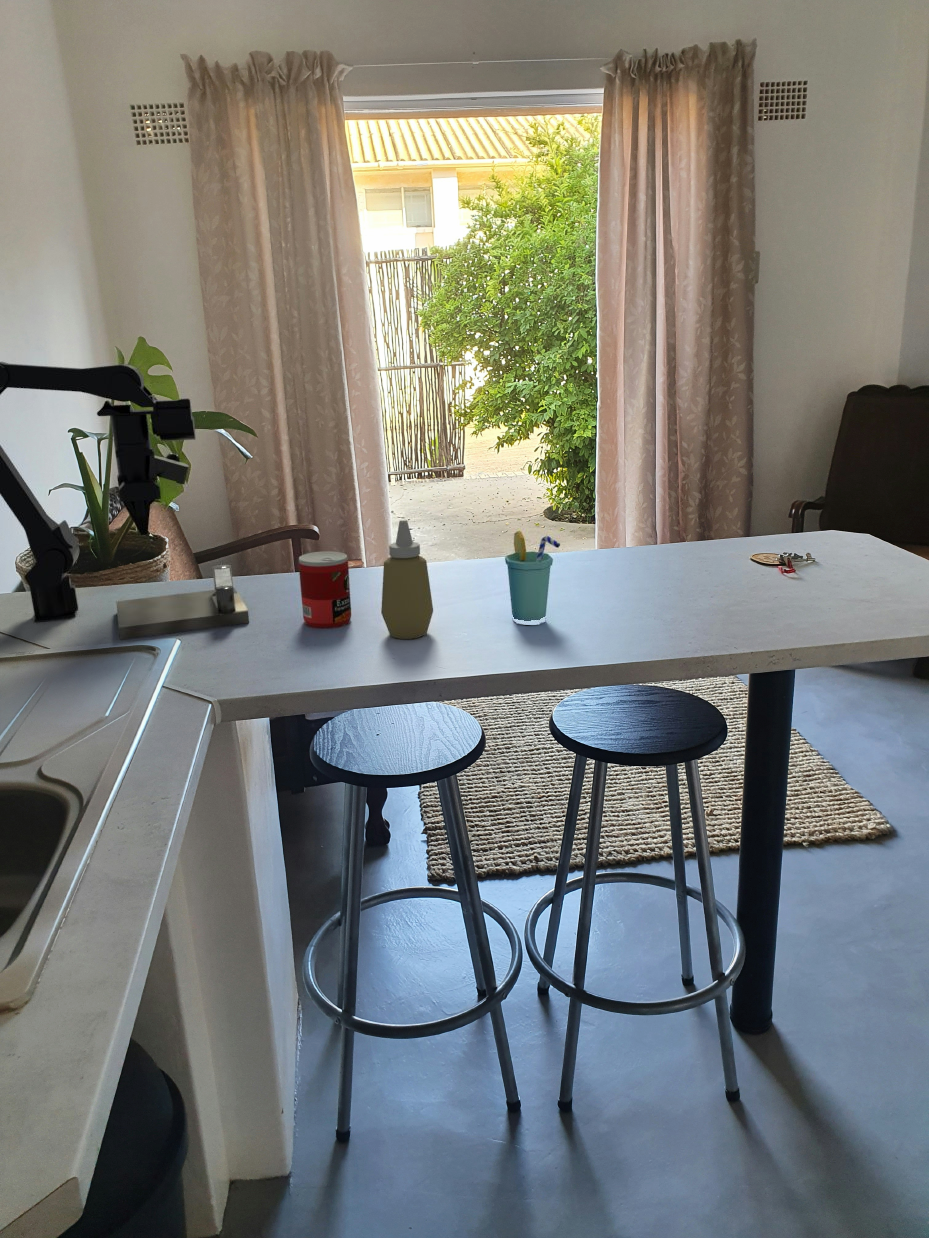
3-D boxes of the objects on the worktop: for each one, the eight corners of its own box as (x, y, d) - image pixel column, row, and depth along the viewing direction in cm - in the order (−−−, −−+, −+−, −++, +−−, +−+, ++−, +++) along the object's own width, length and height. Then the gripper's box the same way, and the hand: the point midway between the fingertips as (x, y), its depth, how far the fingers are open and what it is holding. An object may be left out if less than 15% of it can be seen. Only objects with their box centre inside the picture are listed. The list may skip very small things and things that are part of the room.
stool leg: (214, 587, 159) (212, 565, 158) (233, 585, 160) (230, 564, 159) (216, 615, 143) (214, 591, 142) (237, 612, 144) (234, 589, 143)
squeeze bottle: (441, 628, 142) (437, 516, 136) (422, 644, 135) (418, 527, 129) (394, 624, 144) (389, 514, 139) (374, 640, 137) (367, 525, 132)
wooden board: (120, 639, 140) (118, 626, 139) (117, 612, 154) (116, 600, 154) (249, 622, 147) (247, 609, 146) (235, 598, 161) (234, 586, 161)
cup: (577, 629, 140) (579, 535, 135) (536, 638, 136) (537, 542, 132) (527, 608, 151) (527, 521, 147) (488, 615, 148) (487, 526, 143)
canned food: (343, 629, 142) (338, 563, 139) (296, 627, 144) (290, 561, 141) (358, 615, 150) (354, 551, 146) (313, 613, 151) (308, 550, 148)
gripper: (187, 445, 143) (198, 540, 148) (178, 434, 160) (188, 520, 164) (113, 449, 139) (126, 547, 144) (111, 438, 156) (124, 526, 160)
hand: (144, 534), depth 153 cm, fingers closed
